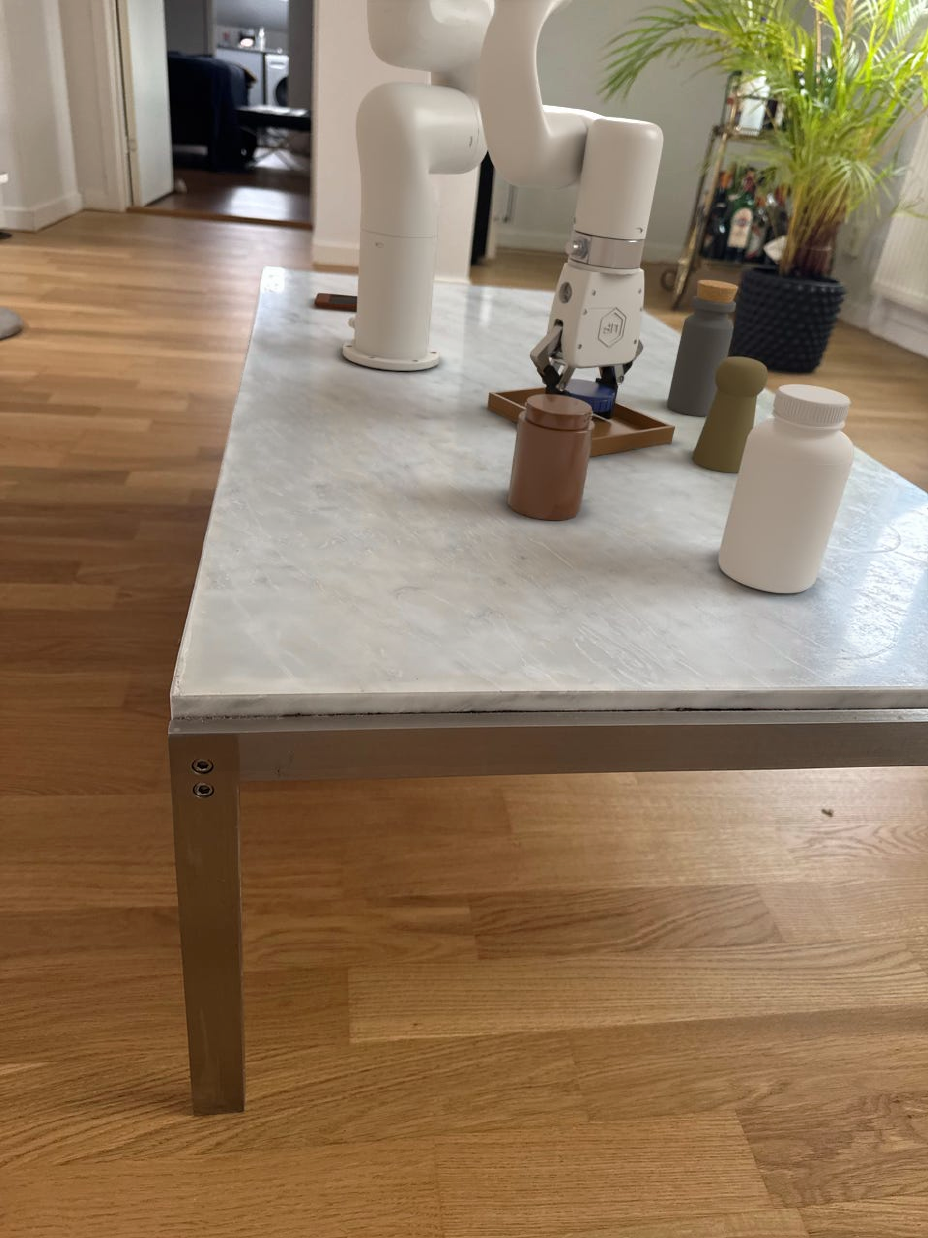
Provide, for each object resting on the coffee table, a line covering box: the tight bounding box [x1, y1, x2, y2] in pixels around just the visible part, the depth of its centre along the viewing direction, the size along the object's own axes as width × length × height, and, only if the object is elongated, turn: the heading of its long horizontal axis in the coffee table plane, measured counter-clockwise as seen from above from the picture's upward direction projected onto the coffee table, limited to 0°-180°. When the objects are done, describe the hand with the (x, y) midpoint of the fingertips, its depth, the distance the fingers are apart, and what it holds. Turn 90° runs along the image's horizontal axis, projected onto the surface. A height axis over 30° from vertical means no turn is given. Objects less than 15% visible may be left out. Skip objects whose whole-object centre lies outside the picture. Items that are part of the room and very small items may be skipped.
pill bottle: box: [717, 383, 855, 594], centre depth 74 cm, size 8×8×15 cm
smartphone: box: [313, 292, 357, 312], centre depth 148 cm, size 7×1×15 cm
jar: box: [507, 394, 595, 521], centre depth 83 cm, size 7×7×9 cm
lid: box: [565, 378, 615, 412], centre depth 105 cm, size 7×7×2 cm
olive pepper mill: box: [691, 356, 769, 474], centre depth 98 cm, size 6×6×11 cm
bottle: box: [666, 279, 739, 417], centre depth 114 cm, size 6×6×15 cm
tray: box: [486, 385, 676, 458], centre depth 106 cm, size 17×13×2 cm
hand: (577, 417), depth 107 cm, fingers closed on lid, 6 cm apart
